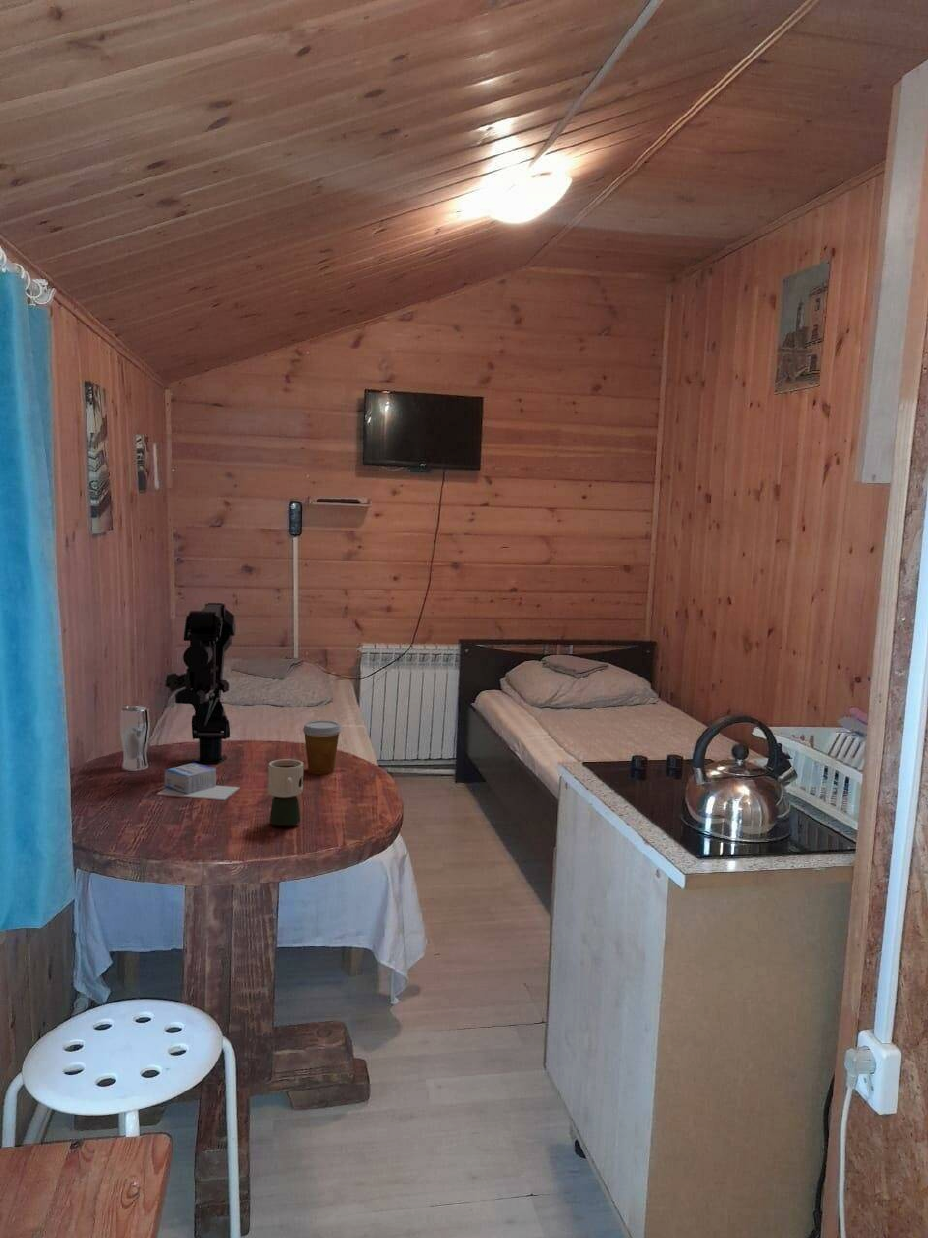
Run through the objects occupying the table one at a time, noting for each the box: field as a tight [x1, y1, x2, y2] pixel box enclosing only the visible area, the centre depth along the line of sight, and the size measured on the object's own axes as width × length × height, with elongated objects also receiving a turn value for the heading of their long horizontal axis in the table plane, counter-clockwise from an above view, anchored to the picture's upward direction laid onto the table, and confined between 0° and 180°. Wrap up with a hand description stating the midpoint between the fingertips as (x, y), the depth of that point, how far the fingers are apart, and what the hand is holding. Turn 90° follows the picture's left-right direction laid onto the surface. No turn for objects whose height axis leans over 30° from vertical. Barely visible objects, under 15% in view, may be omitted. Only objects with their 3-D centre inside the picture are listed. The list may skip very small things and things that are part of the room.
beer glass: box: [119, 705, 151, 772], centre depth 226 cm, size 7×7×15 cm
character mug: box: [267, 758, 304, 828], centre depth 189 cm, size 11×7×13 cm, turn 20°
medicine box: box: [164, 762, 217, 794], centre depth 211 cm, size 8×4×9 cm
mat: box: [156, 785, 240, 801], centre depth 209 cm, size 9×16×1 cm, turn 82°
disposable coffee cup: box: [302, 720, 342, 775], centre depth 229 cm, size 10×10×12 cm
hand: (202, 726), depth 222 cm, fingers closed
